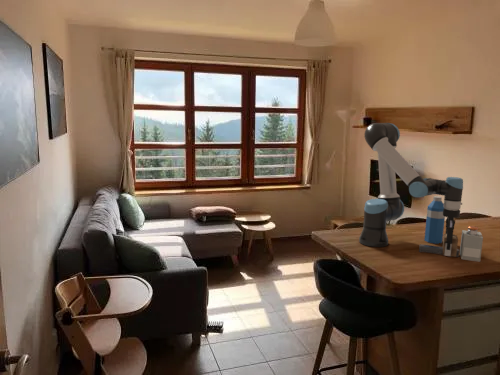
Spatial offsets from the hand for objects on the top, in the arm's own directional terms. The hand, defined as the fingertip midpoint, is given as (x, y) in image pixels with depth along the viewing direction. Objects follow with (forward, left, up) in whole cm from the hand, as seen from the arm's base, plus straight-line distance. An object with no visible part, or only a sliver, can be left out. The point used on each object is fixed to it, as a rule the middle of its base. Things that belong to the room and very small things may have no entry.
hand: (447, 253), depth 201 cm
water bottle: (-6, +21, -1) cm, 22 cm away
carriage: (+1, 0, -1) cm, 1 cm away
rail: (-4, 0, -1) cm, 4 cm away
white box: (+10, 0, -1) cm, 10 cm away
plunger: (+10, 0, +9) cm, 13 cm away
